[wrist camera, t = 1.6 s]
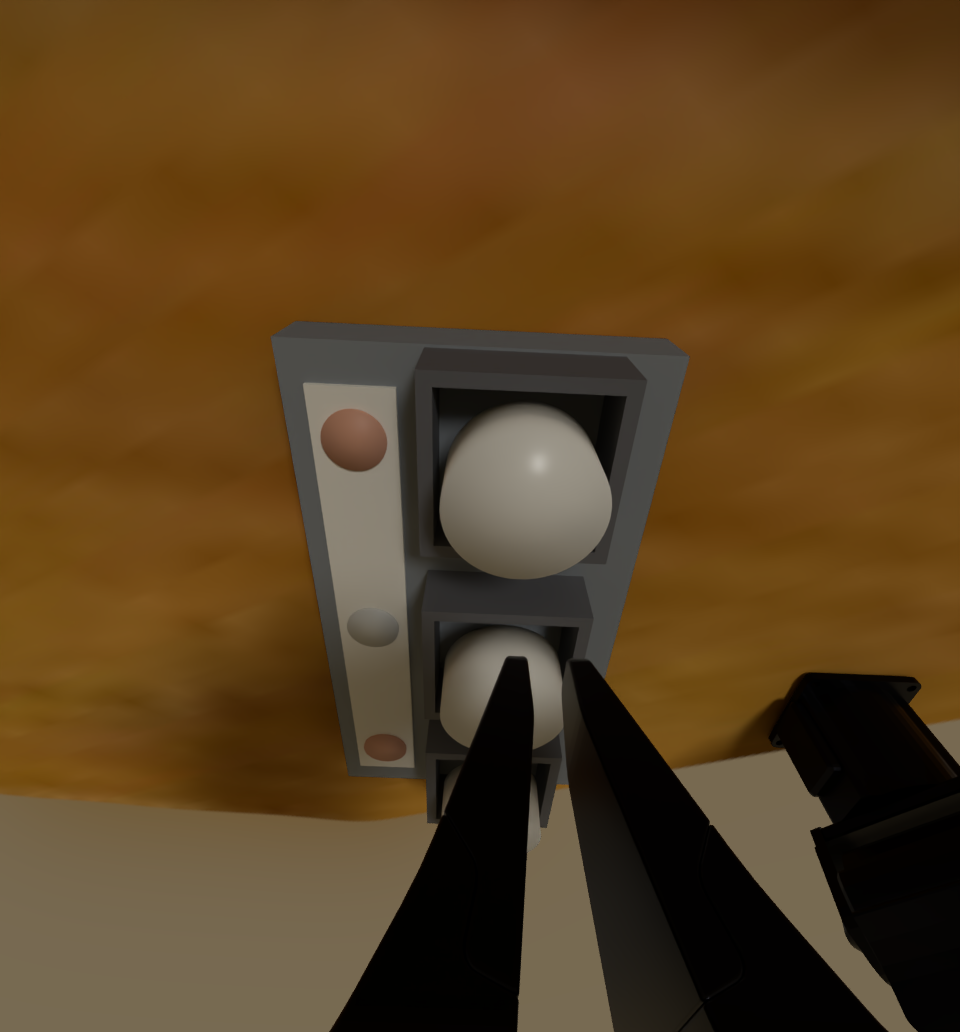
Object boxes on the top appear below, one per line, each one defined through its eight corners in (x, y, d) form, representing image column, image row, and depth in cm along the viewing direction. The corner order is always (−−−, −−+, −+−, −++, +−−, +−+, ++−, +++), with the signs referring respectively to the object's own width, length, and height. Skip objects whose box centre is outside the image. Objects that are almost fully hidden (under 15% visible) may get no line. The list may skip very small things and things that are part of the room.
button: (608, 404, 15) (627, 437, 13) (583, 537, 18) (596, 582, 16) (446, 396, 15) (439, 428, 13) (445, 531, 18) (439, 576, 16)
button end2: (541, 761, 25) (546, 812, 23) (532, 812, 28) (535, 862, 26) (444, 757, 25) (439, 808, 23) (443, 809, 28) (440, 858, 26)
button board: (667, 338, 19) (719, 380, 14) (570, 746, 33) (583, 829, 28) (295, 321, 19) (237, 357, 14) (357, 738, 33) (337, 820, 28)
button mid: (566, 627, 20) (575, 677, 18) (552, 705, 23) (558, 756, 21) (445, 622, 20) (439, 671, 18) (444, 701, 23) (439, 751, 21)
